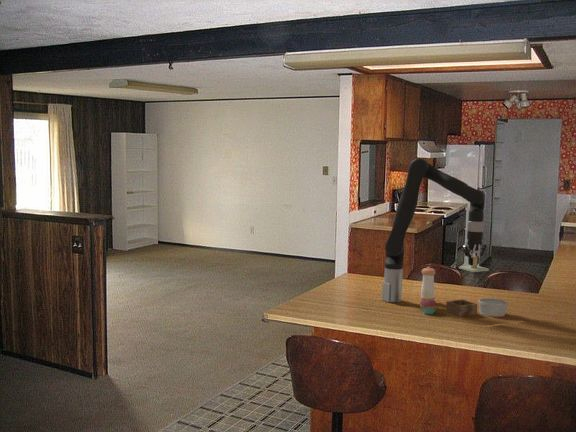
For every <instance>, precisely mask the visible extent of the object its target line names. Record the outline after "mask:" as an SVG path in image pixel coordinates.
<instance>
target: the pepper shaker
mask: <svg viewBox="0 0 576 432" xmlns="http://www.w3.org/2000/svg"><path fill="white" fill-rule="evenodd" d="M436 273H437V272H436V269H434V268H433V267H430V266H427V267H425V268H422V270H421V274H422V282H421V283H422V285H421V288H420V297H419V298H420V299H419V304H420V303H421V301H423V300H425V299H426V291H427V297H428V299H430V300H434V301H435V302H436V300H435V298H436V297H435V283H434V282H435V281H434V280H435V279H434V278H435V276H434V275H436Z"/></svg>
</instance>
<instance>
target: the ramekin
mask: <svg viewBox="0 0 576 432" xmlns="http://www.w3.org/2000/svg"><path fill="white" fill-rule="evenodd" d="M508 306H509V302H508V301H506V300H503V299H501V298H500V299H499V298H493V297H482V298H479V299H478V309H479V314H481V315H483V316H487V317H495V318H498V317H499V318H500V317H505V316H506V315H507V314H506V313H507V308H508Z"/></svg>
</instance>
